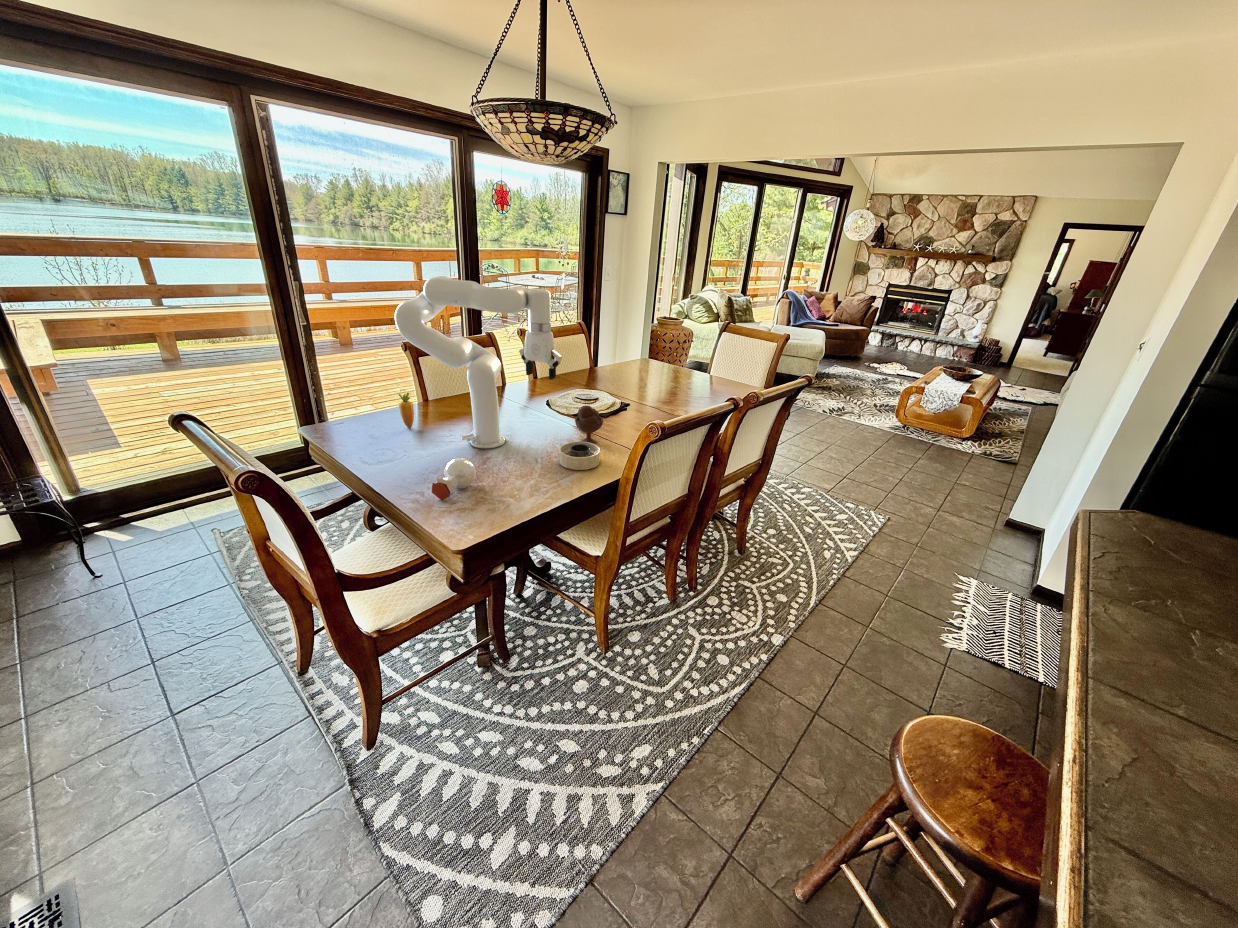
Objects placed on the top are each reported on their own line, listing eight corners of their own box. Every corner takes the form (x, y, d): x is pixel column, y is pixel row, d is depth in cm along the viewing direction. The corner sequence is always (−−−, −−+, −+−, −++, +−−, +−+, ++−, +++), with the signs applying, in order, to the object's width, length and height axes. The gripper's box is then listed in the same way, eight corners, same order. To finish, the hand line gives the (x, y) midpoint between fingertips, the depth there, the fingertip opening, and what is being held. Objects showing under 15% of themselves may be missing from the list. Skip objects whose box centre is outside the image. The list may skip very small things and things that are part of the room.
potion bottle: (475, 483, 155) (447, 510, 142) (451, 464, 154) (421, 489, 141) (487, 466, 149) (459, 493, 137) (462, 446, 148) (432, 471, 136)
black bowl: (575, 466, 165) (575, 453, 163) (566, 458, 170) (566, 446, 168) (592, 463, 168) (593, 450, 166) (584, 455, 173) (584, 443, 171)
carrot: (400, 429, 188) (394, 393, 182) (409, 425, 192) (403, 389, 186) (409, 432, 187) (404, 395, 180) (419, 428, 191) (414, 391, 184)
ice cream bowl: (599, 449, 180) (600, 411, 174) (570, 445, 182) (570, 408, 176) (605, 438, 190) (606, 402, 183) (578, 435, 192) (578, 399, 185)
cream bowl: (569, 474, 160) (569, 460, 158) (552, 457, 171) (552, 445, 169) (606, 466, 167) (607, 453, 165) (588, 451, 178) (588, 439, 176)
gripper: (512, 325, 164) (514, 375, 171) (555, 332, 157) (555, 383, 164) (525, 323, 170) (527, 370, 177) (567, 329, 163) (567, 378, 170)
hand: (540, 376), depth 171 cm, fingers open, 9 cm apart
